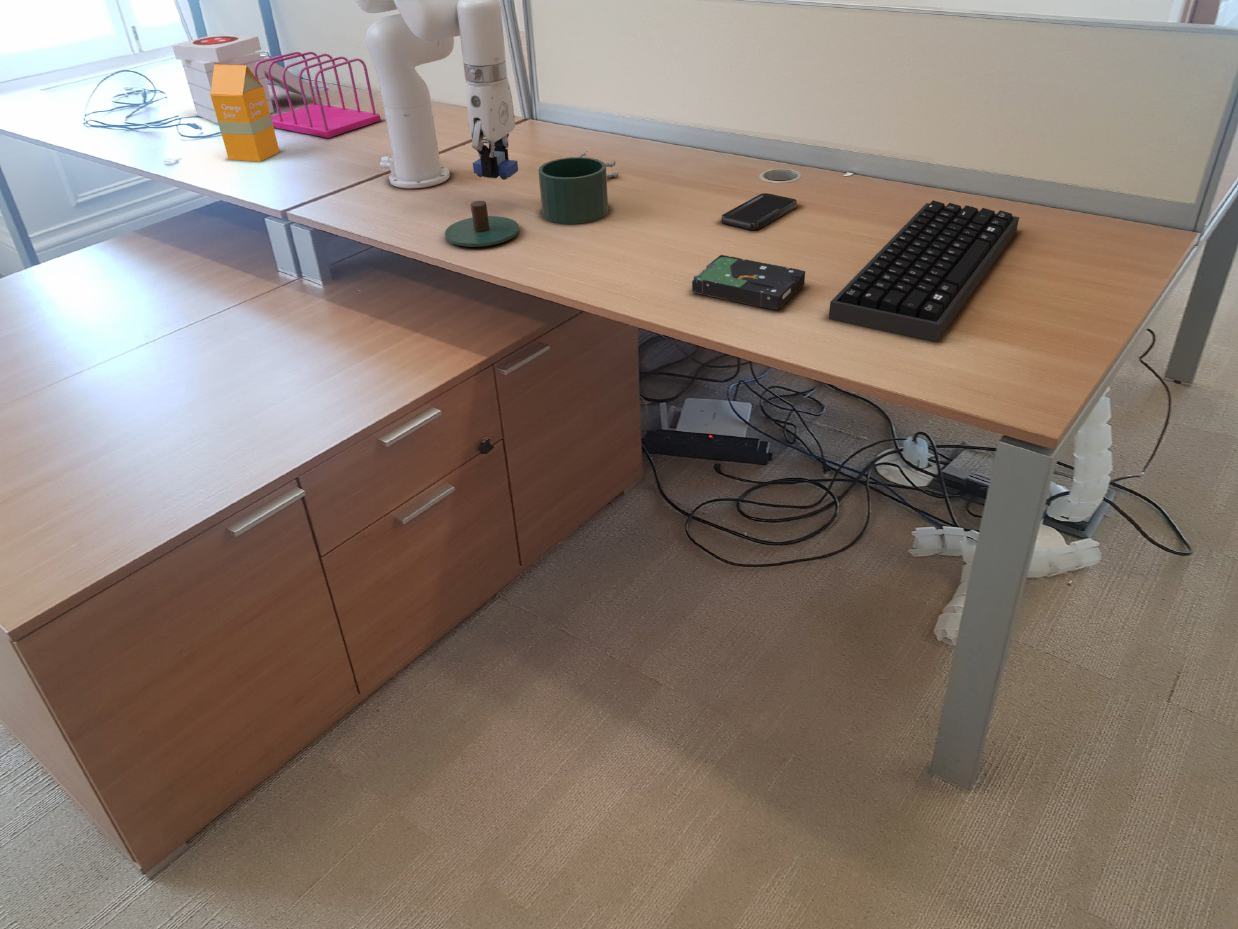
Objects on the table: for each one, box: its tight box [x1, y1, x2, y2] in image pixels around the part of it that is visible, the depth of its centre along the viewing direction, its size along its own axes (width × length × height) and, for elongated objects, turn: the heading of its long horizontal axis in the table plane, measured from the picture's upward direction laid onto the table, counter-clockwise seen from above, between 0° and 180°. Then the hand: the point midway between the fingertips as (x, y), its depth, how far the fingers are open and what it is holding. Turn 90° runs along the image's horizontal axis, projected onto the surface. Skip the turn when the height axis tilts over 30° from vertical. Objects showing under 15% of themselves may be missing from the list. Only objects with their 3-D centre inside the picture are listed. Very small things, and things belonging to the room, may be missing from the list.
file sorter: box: [254, 51, 382, 139], centre depth 233 cm, size 17×25×16 cm
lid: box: [444, 200, 520, 248], centre depth 169 cm, size 13×13×6 cm
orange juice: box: [210, 64, 280, 163], centre depth 212 cm, size 8×9×20 cm
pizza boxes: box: [172, 33, 316, 125], centre depth 248 cm, size 19×30×18 cm, turn 133°
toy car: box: [472, 151, 519, 181], centre depth 178 cm, size 8×4×4 cm, turn 69°
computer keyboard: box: [828, 199, 1020, 343], centre depth 148 cm, size 45×16×4 cm, turn 148°
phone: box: [721, 192, 798, 231], centre depth 172 cm, size 8×1×15 cm
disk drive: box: [691, 254, 806, 311], centre depth 146 cm, size 10×3×15 cm
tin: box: [538, 156, 609, 225], centre depth 175 cm, size 12×12×8 cm
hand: (496, 172), depth 178 cm, fingers closed on toy car, 3 cm apart
